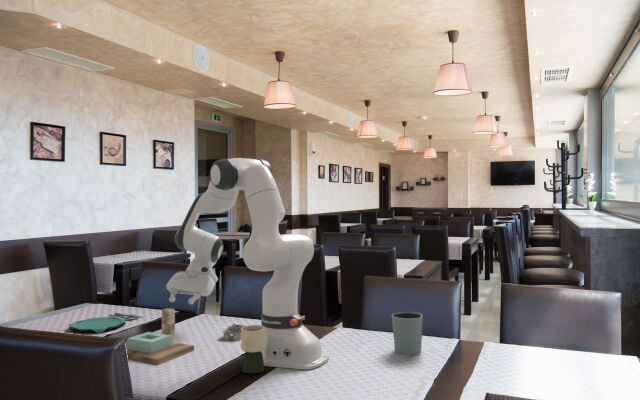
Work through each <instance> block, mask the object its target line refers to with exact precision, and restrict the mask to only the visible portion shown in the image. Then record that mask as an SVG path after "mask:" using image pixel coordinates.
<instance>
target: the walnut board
mask: <svg viewBox="0 0 640 400" xmlns="http://www.w3.org/2000/svg"><path fill="white" fill-rule="evenodd" d="M124 343H125V344H126V349H127V355H128V358H127V359H130V360H133V361H134V360H135V361H139V362H145V363H148V364H149V363H150V364H155V365H161V364H163V363H166V362H168V361H171V360H173V359H176V358H179V357H181V356H183V355H186V354H188V353H190V352H193V351H195V345H191V344H186V343H180V342H173V341H171V346H170V347H167V348H164V349H162V350H159V351H156V352H154V353H147V352H141V351H136V350H130V349H128V341H124Z"/></svg>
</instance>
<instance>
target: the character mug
mask: <svg viewBox="0 0 640 400" xmlns="http://www.w3.org/2000/svg"><path fill="white" fill-rule="evenodd" d="M243 326H244V325H243ZM240 341H241V344H240V348H241V350H242V351H243V352H244V356H243V361H242V362H243V363H242V372H243V373H247V374H251V375H252V374H258V373H263V372H264V371H265V366H264V361H263V355H262V352H261V351H263V350H264V349H265V327H264V326H262V325H261V324H250V325H245V326H244V327H242V328H241V340H240Z"/></svg>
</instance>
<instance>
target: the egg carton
mask: <svg viewBox="0 0 640 400" xmlns="http://www.w3.org/2000/svg"><path fill="white" fill-rule="evenodd" d="M244 326H246V325H243V324H237V323H232V324H231V326H228V327H227V328H225V329H222V334H223V339H224V340H226V341H229V340H233V341H242V340H241V328H242V327H244Z"/></svg>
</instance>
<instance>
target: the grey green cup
mask: <svg viewBox="0 0 640 400" xmlns="http://www.w3.org/2000/svg"><path fill="white" fill-rule="evenodd" d="M423 316H424V315H423V314H422V313H420V312H415V311H399V312H398V311H397V312H394V313H392V314H391V322H392V323H391V324H392V333H393V334H392V335H393V341H394V343H393V345H394V352H395V353H396V354H398V355H402V356H415V355H420V354H421V353H422V339H423V330H422V328H423Z"/></svg>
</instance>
